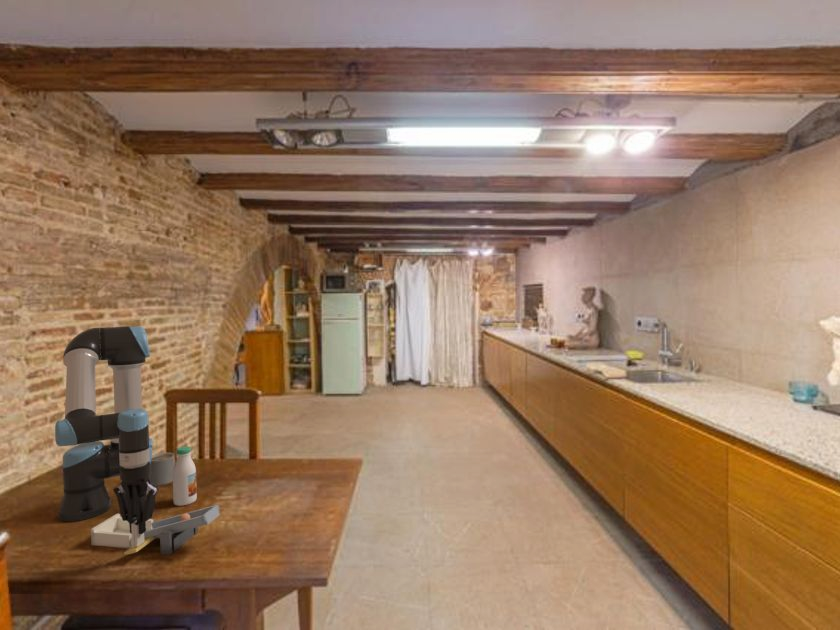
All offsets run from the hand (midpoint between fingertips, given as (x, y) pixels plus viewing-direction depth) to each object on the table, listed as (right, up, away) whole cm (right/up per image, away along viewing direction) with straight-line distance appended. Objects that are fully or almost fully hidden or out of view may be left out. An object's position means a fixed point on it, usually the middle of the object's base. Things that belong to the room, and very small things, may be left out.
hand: (138, 543), depth 133 cm
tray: (-11, -3, +10) cm, 15 cm away
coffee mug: (-26, -2, +55) cm, 61 cm away
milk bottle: (-5, -2, +35) cm, 36 cm away
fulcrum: (+8, -3, +7) cm, 11 cm away
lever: (+8, +1, +4) cm, 9 cm away
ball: (+10, +4, +6) cm, 13 cm away
